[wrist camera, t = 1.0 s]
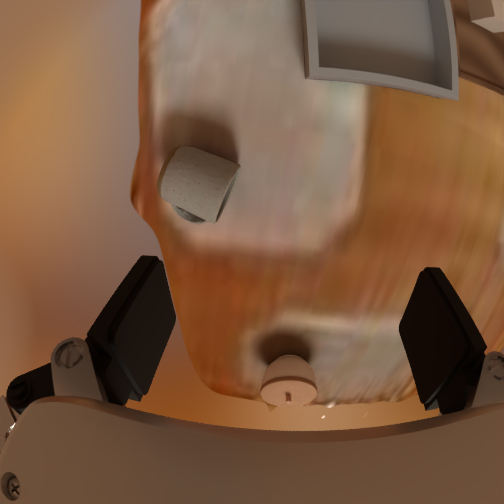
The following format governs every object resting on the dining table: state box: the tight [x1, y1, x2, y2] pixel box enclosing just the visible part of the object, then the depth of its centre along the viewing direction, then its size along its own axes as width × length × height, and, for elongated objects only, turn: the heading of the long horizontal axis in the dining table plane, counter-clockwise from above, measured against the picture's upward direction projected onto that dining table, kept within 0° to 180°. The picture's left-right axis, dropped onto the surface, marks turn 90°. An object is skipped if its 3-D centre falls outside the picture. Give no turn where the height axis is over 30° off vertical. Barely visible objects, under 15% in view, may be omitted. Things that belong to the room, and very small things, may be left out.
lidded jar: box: [260, 355, 317, 407], centre depth 49 cm, size 11×11×9 cm
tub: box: [301, 0, 459, 101], centre depth 20 cm, size 18×18×5 cm
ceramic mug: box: [157, 146, 241, 224], centre depth 33 cm, size 11×8×8 cm
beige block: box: [467, 0, 504, 33], centre depth 13 cm, size 5×5×6 cm
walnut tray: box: [450, 0, 504, 95], centre depth 17 cm, size 18×20×1 cm
